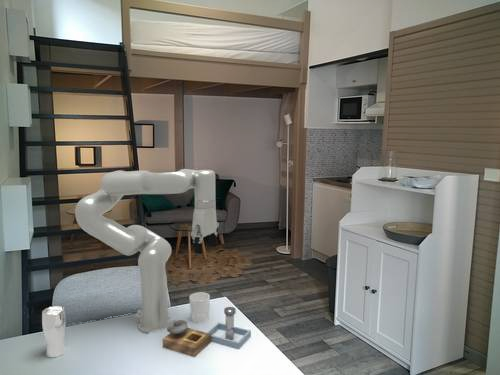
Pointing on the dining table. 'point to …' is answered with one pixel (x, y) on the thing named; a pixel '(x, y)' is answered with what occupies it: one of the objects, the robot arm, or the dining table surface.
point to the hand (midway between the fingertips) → (205, 249)
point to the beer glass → (54, 330)
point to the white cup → (199, 306)
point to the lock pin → (229, 322)
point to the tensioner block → (185, 338)
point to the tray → (226, 341)
